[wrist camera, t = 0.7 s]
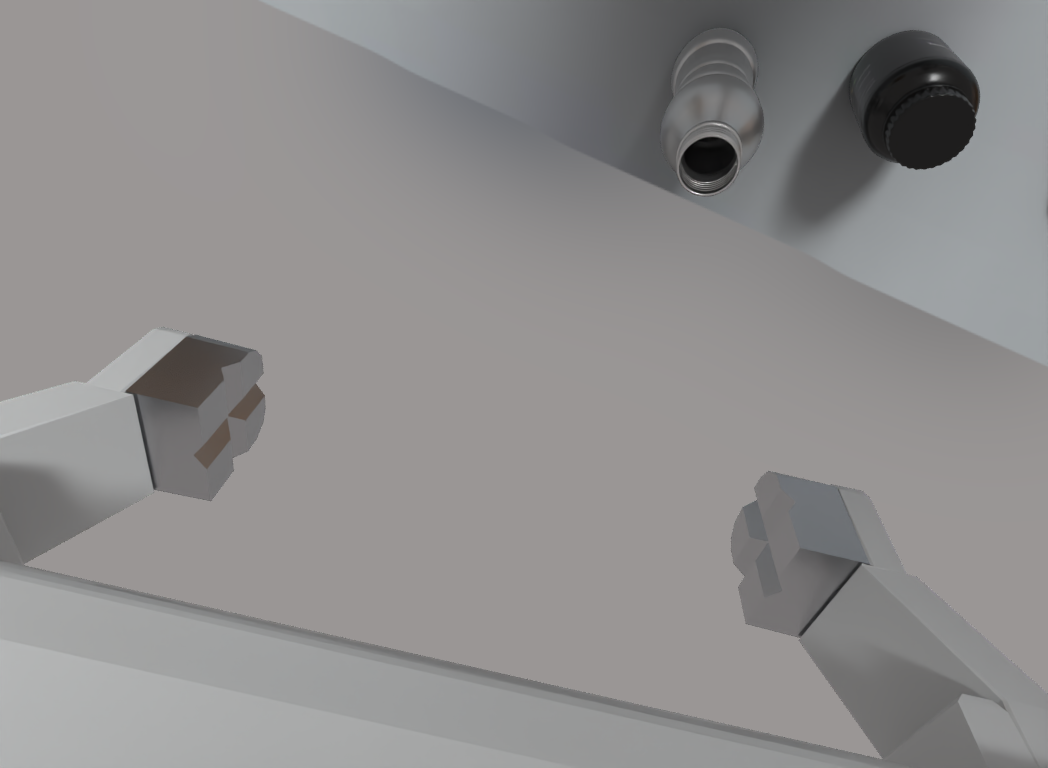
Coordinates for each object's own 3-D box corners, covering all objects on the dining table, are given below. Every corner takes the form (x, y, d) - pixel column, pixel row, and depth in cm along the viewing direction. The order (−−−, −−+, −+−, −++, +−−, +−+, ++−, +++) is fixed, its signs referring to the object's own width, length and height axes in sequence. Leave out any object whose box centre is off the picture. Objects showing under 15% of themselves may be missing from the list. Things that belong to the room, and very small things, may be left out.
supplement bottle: (960, 20, 44) (1016, 69, 36) (936, 118, 48) (981, 182, 40) (854, 34, 46) (882, 83, 38) (840, 126, 51) (862, 189, 42)
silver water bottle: (664, 102, 53) (639, 208, 38) (686, 13, 48) (668, 95, 34) (739, 117, 52) (743, 230, 38) (770, 27, 47) (787, 118, 33)
